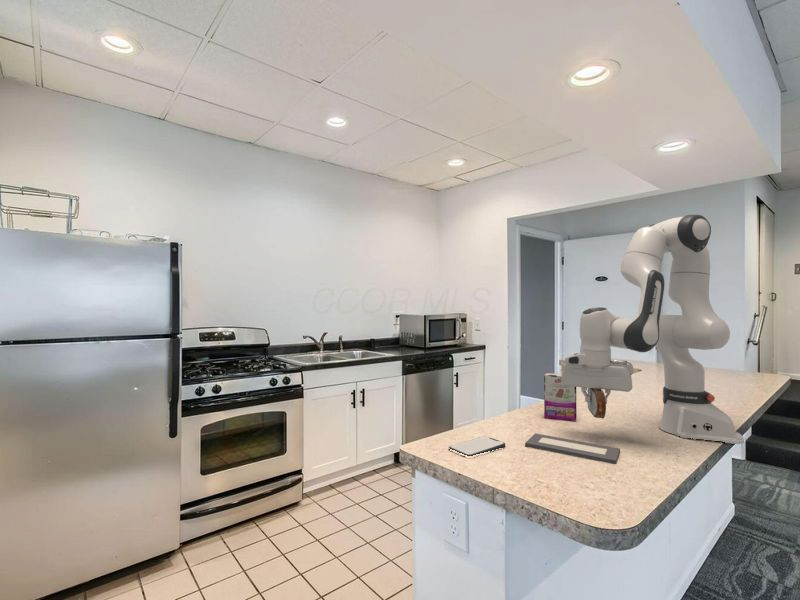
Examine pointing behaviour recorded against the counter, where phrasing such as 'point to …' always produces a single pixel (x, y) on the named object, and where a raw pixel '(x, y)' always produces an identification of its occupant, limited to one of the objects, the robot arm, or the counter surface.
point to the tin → (597, 403)
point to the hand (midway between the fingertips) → (596, 402)
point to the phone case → (478, 446)
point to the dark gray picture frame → (574, 448)
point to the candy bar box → (559, 399)
